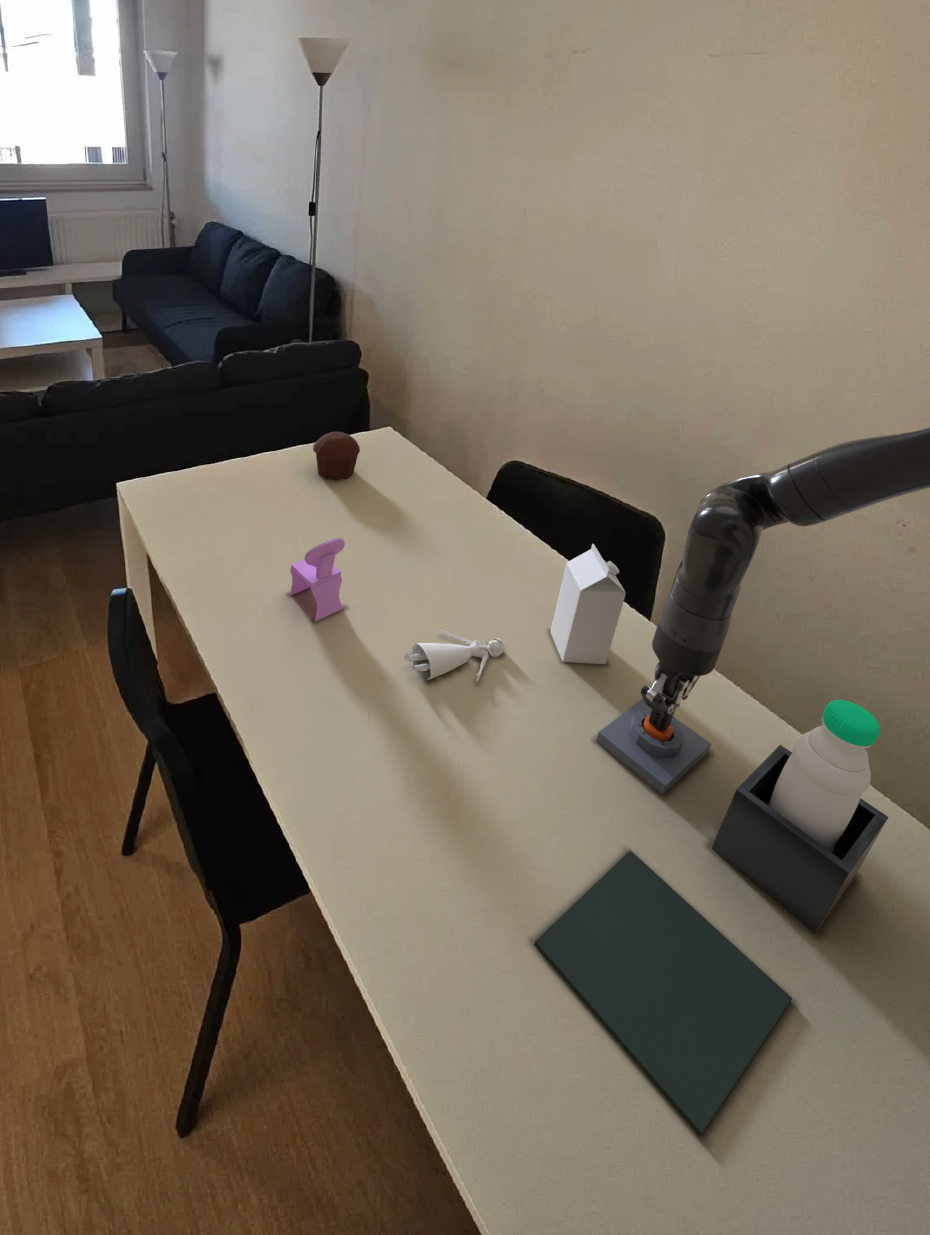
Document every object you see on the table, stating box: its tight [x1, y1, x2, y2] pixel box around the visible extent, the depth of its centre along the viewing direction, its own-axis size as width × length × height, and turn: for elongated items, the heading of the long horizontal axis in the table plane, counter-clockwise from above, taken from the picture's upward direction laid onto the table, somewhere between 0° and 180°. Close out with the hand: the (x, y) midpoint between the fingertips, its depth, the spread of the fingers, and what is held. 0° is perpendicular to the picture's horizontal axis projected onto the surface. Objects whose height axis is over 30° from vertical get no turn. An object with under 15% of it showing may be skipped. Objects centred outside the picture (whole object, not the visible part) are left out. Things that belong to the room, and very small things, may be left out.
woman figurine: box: [402, 629, 505, 682], centre depth 111 cm, size 12×4×18 cm
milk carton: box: [550, 543, 627, 665], centre depth 111 cm, size 7×7×19 cm
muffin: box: [312, 431, 361, 482], centre depth 166 cm, size 12×11×10 cm
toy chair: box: [289, 537, 346, 622], centre depth 120 cm, size 8×9×15 cm
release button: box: [643, 715, 673, 741], centre depth 96 cm, size 4×4×2 cm
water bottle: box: [768, 699, 881, 853], centre depth 78 cm, size 7×7×25 cm
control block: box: [595, 698, 712, 796], centre depth 97 cm, size 12×10×4 cm
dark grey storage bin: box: [711, 744, 889, 934], centre depth 81 cm, size 11×11×11 cm
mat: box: [533, 850, 793, 1137], centre depth 72 cm, size 18×18×1 cm
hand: (658, 725), depth 96 cm, fingers closed
